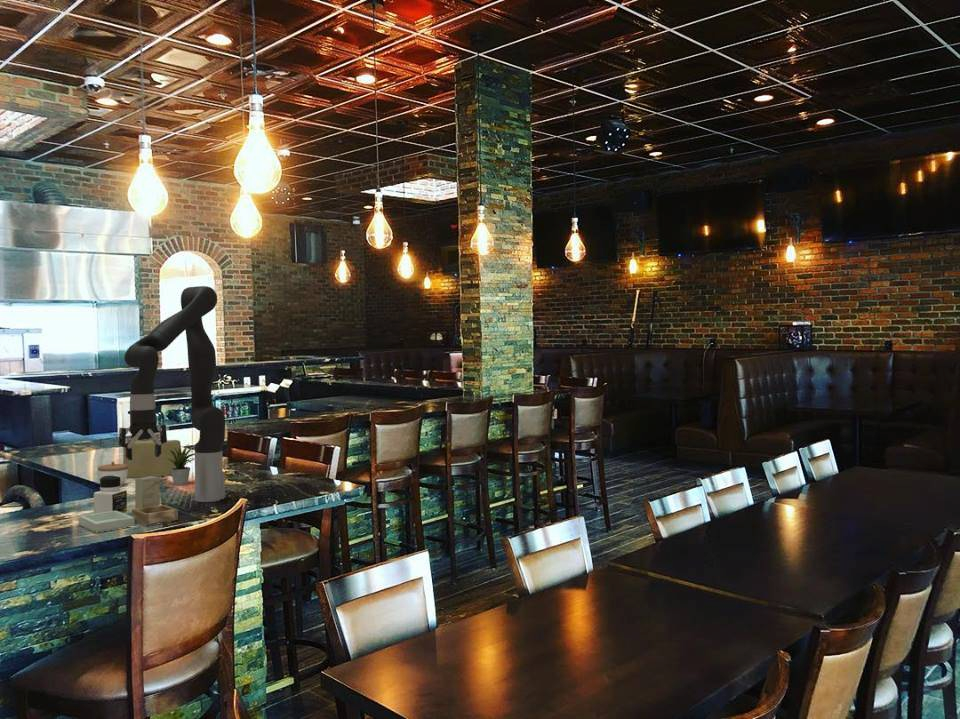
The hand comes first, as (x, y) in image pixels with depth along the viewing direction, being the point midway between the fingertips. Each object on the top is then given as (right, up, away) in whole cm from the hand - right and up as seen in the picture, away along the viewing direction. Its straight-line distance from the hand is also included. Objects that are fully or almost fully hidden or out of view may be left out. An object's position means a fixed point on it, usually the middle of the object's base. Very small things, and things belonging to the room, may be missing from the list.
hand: (143, 458), depth 247 cm
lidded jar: (-34, -17, +50) cm, 63 cm away
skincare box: (+1, -19, +1) cm, 19 cm away
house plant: (-9, -17, +53) cm, 56 cm away
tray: (-5, -19, -14) cm, 24 cm away
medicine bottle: (-13, -19, +4) cm, 23 cm away
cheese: (-27, -17, +71) cm, 78 cm away
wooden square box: (+7, -19, -8) cm, 21 cm away
